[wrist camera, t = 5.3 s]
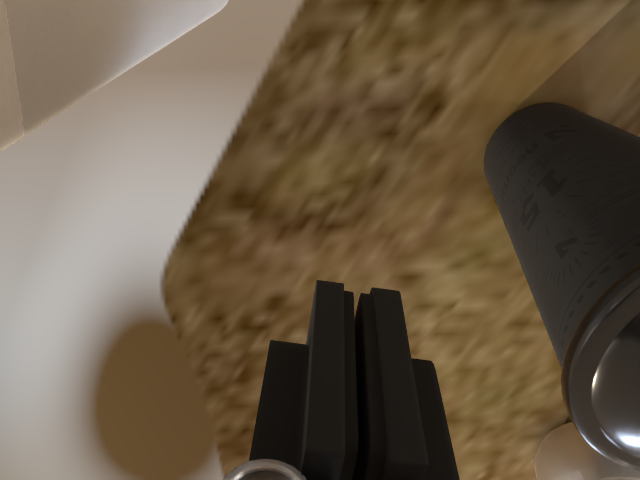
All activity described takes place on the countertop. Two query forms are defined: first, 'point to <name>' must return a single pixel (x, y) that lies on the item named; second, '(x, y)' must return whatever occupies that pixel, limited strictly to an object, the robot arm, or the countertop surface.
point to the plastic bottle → (575, 459)
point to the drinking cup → (579, 258)
